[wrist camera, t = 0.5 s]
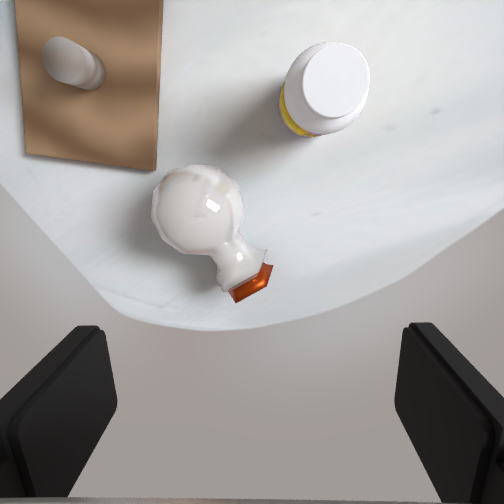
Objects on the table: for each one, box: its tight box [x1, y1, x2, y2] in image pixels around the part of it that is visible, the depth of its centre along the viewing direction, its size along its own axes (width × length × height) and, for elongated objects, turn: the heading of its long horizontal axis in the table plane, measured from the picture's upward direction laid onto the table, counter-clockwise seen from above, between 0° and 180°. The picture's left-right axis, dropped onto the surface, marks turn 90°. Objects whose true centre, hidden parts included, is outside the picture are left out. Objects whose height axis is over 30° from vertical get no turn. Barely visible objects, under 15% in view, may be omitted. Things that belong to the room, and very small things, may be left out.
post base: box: [15, 0, 163, 171], centre depth 32 cm, size 18×14×6 cm
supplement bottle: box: [279, 42, 370, 137], centre depth 29 cm, size 7×7×13 cm
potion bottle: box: [151, 164, 273, 303], centre depth 35 cm, size 9×10×15 cm
